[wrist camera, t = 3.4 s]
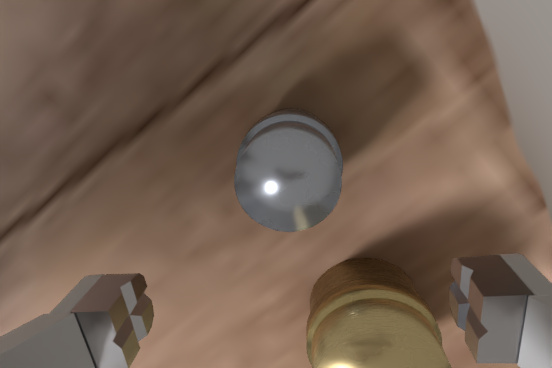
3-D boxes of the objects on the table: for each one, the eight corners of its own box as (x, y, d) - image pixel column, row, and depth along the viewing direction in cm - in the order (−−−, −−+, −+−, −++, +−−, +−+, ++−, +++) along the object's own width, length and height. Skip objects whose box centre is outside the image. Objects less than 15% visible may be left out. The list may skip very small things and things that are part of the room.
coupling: (252, 194, 24) (237, 240, 18) (239, 108, 22) (218, 131, 16) (338, 186, 23) (350, 232, 18) (333, 98, 21) (345, 118, 16)
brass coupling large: (310, 348, 28) (313, 440, 22) (300, 258, 25) (300, 332, 19) (419, 344, 28) (456, 438, 21) (422, 250, 25) (465, 325, 18)
